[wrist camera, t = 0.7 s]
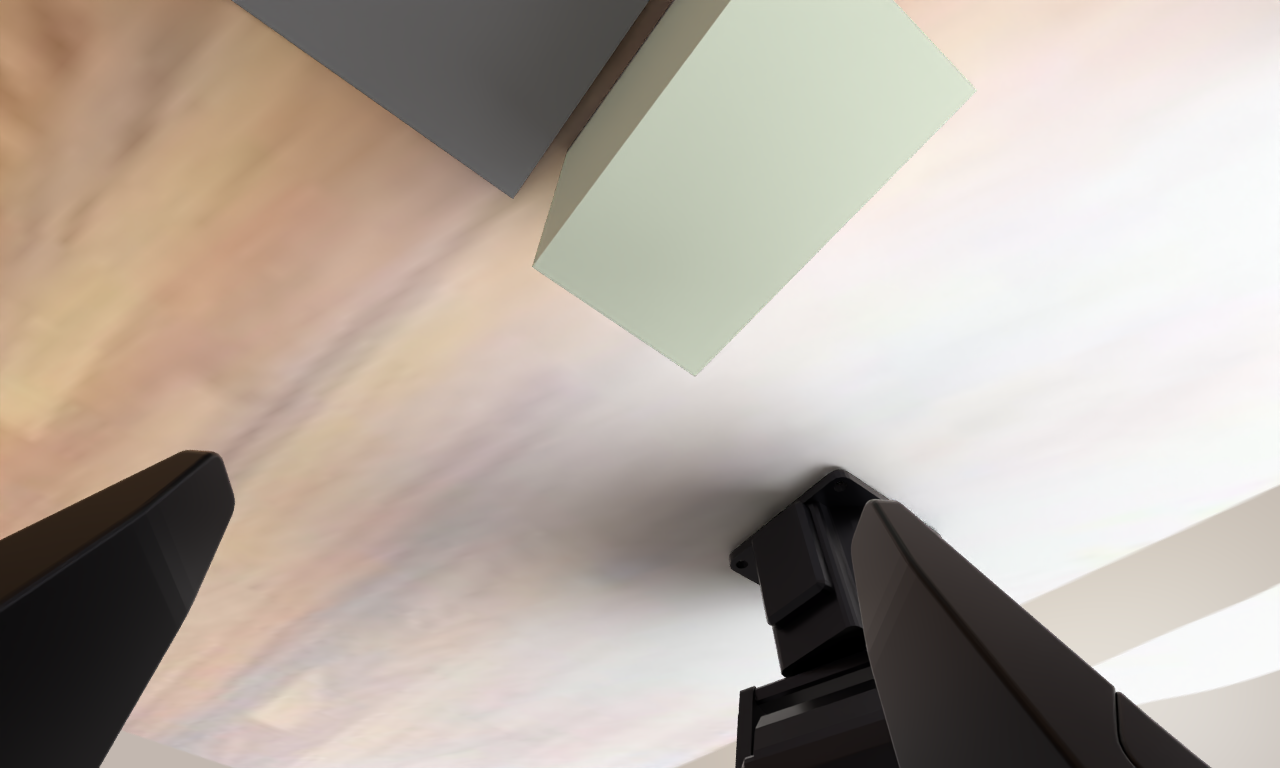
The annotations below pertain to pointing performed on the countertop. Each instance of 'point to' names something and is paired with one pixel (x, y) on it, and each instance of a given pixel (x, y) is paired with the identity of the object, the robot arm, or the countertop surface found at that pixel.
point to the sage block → (737, 160)
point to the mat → (464, 66)
